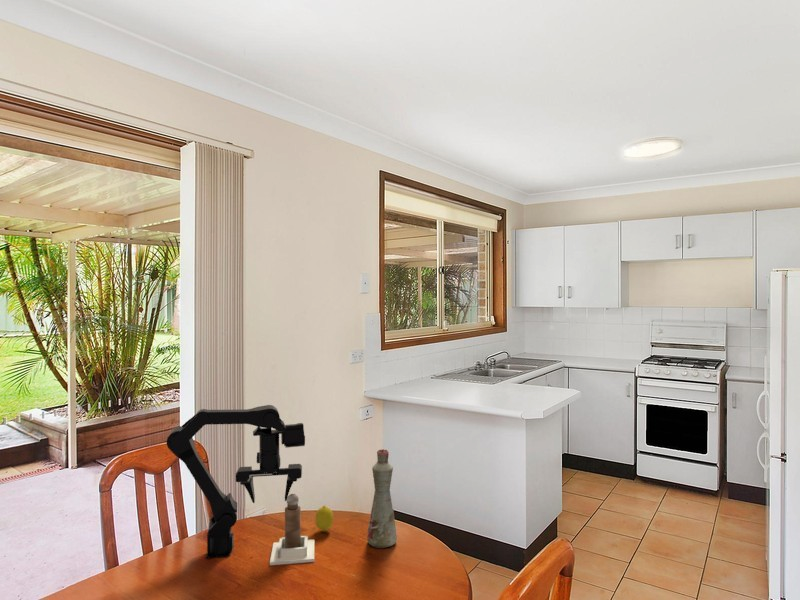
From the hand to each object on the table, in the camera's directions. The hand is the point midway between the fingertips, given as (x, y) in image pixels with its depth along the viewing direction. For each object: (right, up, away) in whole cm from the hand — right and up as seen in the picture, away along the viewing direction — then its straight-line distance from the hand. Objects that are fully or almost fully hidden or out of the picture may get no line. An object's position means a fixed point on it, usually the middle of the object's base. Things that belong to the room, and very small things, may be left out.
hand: (269, 501), depth 154 cm
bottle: (+33, -13, +1) cm, 36 cm away
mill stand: (+8, -13, -5) cm, 16 cm away
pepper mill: (+8, -12, -5) cm, 15 cm away
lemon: (+15, -13, +9) cm, 22 cm away
